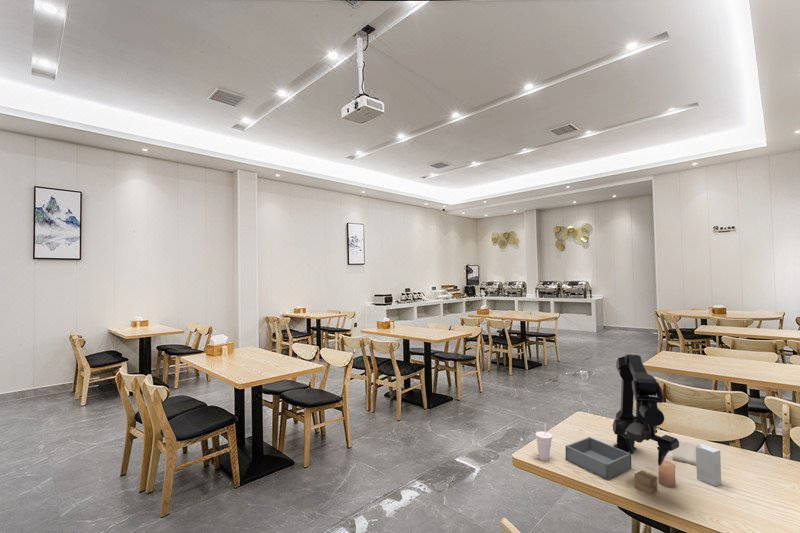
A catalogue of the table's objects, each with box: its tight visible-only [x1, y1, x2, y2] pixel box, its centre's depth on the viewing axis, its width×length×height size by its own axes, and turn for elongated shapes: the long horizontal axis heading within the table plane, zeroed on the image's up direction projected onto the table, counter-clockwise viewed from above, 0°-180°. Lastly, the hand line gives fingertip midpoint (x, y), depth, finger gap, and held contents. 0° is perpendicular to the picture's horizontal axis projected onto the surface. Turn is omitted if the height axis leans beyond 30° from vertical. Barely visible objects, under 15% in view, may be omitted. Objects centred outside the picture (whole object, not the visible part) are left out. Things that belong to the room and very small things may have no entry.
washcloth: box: [672, 440, 697, 467], centre depth 162 cm, size 12×18×3 cm, turn 141°
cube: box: [633, 470, 658, 496], centre depth 139 cm, size 5×5×5 cm
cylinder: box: [657, 460, 676, 489], centre depth 143 cm, size 5×5×7 cm
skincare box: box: [695, 443, 722, 487], centre depth 144 cm, size 6×4×12 cm
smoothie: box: [535, 423, 553, 462], centre depth 161 cm, size 6×6×14 cm
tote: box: [565, 436, 632, 481], centre depth 156 cm, size 15×17×6 cm
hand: (645, 459), depth 139 cm, fingers open, 9 cm apart
